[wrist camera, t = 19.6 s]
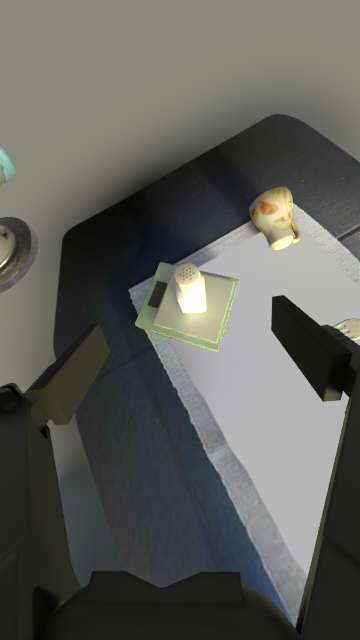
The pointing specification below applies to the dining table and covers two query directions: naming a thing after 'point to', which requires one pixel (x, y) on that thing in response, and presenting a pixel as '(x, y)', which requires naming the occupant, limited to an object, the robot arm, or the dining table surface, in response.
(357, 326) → the fork
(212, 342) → the scale
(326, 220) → the dining table surface
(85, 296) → the dining table surface
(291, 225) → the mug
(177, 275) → the pepper shaker
